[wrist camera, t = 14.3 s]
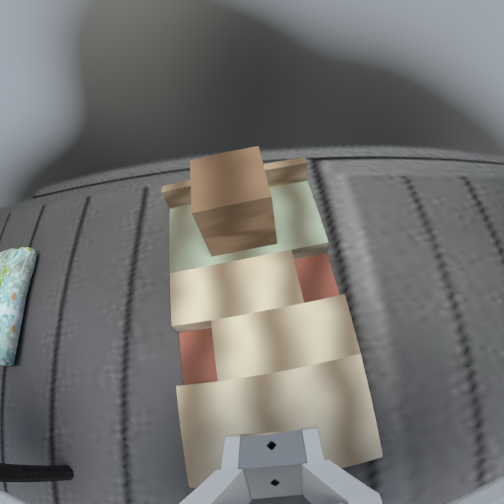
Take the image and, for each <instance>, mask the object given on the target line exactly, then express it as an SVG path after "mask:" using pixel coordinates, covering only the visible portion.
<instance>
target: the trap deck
mask: <svg viewBox="0 0 504 504" xmlns="http://www.w3.org/2000/svg"><path fill="white" fill-rule="evenodd" d="M263 165H264V169H265V173H266V177H267V181H268V185H269V189H270V192H271V196H272V204H273V212H274V220H275V228H276V237H277V244H274V245H269V246H263V247H258V248H253V249H248V250H243V251H238V252H233V253H228V254H223V255H218V256H213V257H212V256H211V254H210V252H209V250H208V247H207V245H206V243H205V241H204V239H203V237H202V235H201V232H200V230H199V228H198V226H197V224H196V222H195V219H194V217H193V215H192V207H191V180H187V181H183V182H179V183H175V184H171V185H167V186H163V187H162V194H163V196H164V198H165V200H166V202H167V204H168V206H169V208H170V295H171V320H172V327H173V328H174V329H175V330H177V331H178V332H179V337H180V351H181V363H182V375H183V385H180V386H176V391H177V401H178V411H179V420H180V428H181V436H182V444H183V452H184V459H185V466H186V472H187V479H188V485H189V488H197V487H198V486H199V485H200V484H202V483H203V482H204V481H205V480H206V479H207V478H208V477H209V476H210V475H211V474H212V473H213V472H214V471H215V470H221V462H222V454H223V446H224V438H225V436H226V435H234V434H253V433H269V432H277V431H286V430H294V429H301V428H307V427H314V426H316V427H317V428H318V432H319V436H320V440H321V445H322V449H323V454H324V458H325V460H331V461H332V462H333V463H335V464H336V465H338V466H339V467H340V468H346V467H350V466H354V465H357V464H361V463H364V462H368V461H371V460H374V459H378V458H381V457H383V454H382V448H381V443H380V438H379V432H378V427H377V423H376V418H375V413H374V408H373V404H372V399H371V395H370V390H369V386H368V381H367V377H366V373H365V369H364V365H363V361H362V357H361V353H360V349H359V345H358V341H357V337H356V333H355V330H354V326H353V322H352V319H351V315H350V311H349V308H348V304H347V301H346V297H345V294H343V295H339V291H338V288H337V284H336V281H335V278H334V274H333V271H332V268H331V264H330V261H329V258H328V254H327V250H328V243H329V242H328V239H327V236H326V233H325V230H324V227H323V224H322V221H321V218H320V215H319V212H318V209H317V206H316V204H315V201H314V198H313V195H312V192H311V189H310V187H309V184H308V181H307V161H306V158H305V157H303V158H297V159H291V160H285V161H279V162H274V163H268V164H263Z"/></svg>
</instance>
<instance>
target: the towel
mask: <svg viewBox="0 0 504 504" xmlns="http://www.w3.org/2000/svg"><path fill="white" fill-rule="evenodd" d="M36 257H37V254H36V252H35V250H34V249H31V248H29V247H21V248H19V249H13V248H11V249H9V250H5V251H3V252H0V365H3V366H11V365H13V364H14V361H15V355H16V350H17V345H18V340H19V334H20V329H21V323H22V318H23V312H24V307H25V301H26V296H27V292H28V288H29V284H30V280H31V277H32V274H33V271H34V267H35V264H36Z"/></svg>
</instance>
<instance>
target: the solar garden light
mask: <svg viewBox="0 0 504 504" xmlns="http://www.w3.org/2000/svg"><path fill="white" fill-rule="evenodd" d="M72 478H73V471H72V469H71V468H70V467H69V466H37V465H14V464H1V463H0V482H45V481H62V480H71V479H72Z"/></svg>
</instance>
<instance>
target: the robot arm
mask: <svg viewBox="0 0 504 504" xmlns="http://www.w3.org/2000/svg"><path fill="white" fill-rule="evenodd" d="M295 495H303V496H304V497H305V498H306V499H307V500H308V501H309V502H310V503H311V504H383V503H382V500H381V497H380V494H379V493H377V492H376V491H374V490H373V489H371V488H370V487H368V486H367V485H365V484H364V483H362V482H361V481H359V480H358V479H356V478H355V477H353V476H352V475H350V474H349V473H347V472H346V471H345V470H343V469H342V468H340V467H339V466H338V465H336V464H335V463H333V462H332V461H331V460H325V458H324V454H323V449H322V445H321V440H320V436H319V432H318V428H317V427H316V426H314V427H307V428H301V429H294V430H286V431H277V432H269V433H253V434H234V435H226V436H225V438H224V446H223V454H222V462H221V470H215V471H214V472H213V473H212V474H211V475H210V476H209V477H208V478H207V479H206V480H205V481H204V482H203V483H202V484H200V485H199V486H198V487H197V488H196V489H195V490H194V491H193V492H192V493H190V494H189V495H188V496H187V497H186V498H185V499H184V500H183V501H181V502H180V503H179V504H249V503H250V502H251V499H261V498H272V497H283V496H295ZM0 504H30V503H28V502H26V501H23V500H21V499H19V498H17V497H15V496H13V495H10V494H8V493H6V492H4V491H2V490H1V489H0ZM445 504H504V474H502V475H501V476H499V477H497V478H495V479H494V480H492V481H490V482H488V483H486V484H485V485H483V486H481V487H479V488H477V489H475V490H473V491H471V492H469V493H467V494H465V495H463V496H460V497H458V498H456V499H454V500H452V501H449V502H447V503H445Z"/></svg>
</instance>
